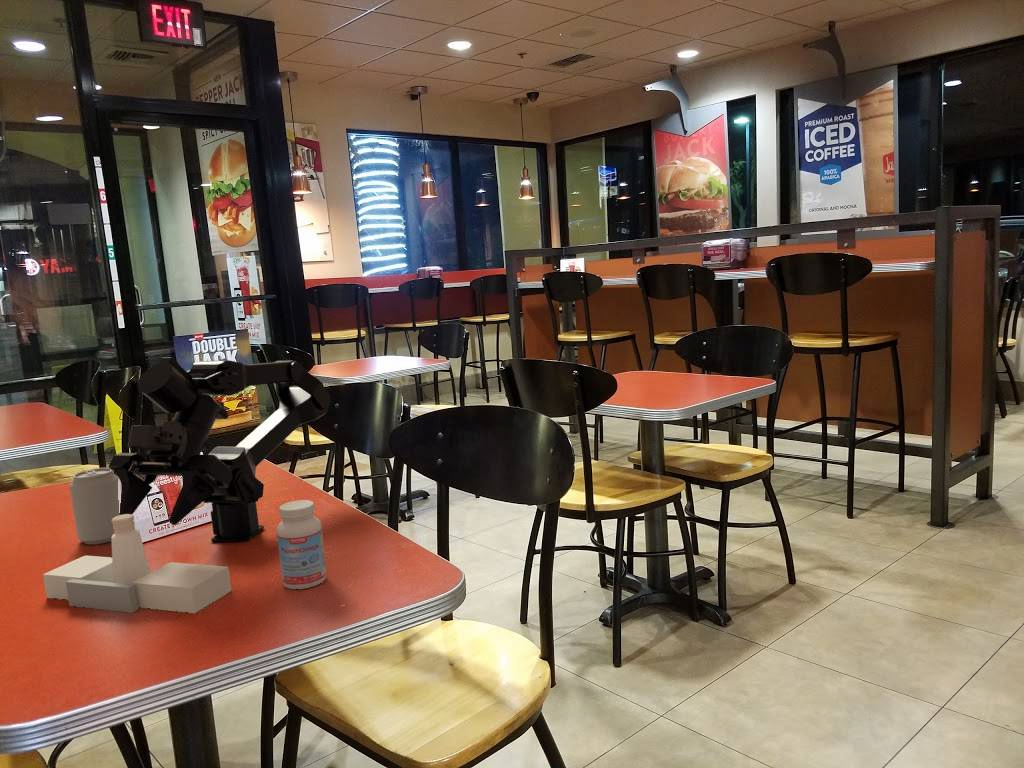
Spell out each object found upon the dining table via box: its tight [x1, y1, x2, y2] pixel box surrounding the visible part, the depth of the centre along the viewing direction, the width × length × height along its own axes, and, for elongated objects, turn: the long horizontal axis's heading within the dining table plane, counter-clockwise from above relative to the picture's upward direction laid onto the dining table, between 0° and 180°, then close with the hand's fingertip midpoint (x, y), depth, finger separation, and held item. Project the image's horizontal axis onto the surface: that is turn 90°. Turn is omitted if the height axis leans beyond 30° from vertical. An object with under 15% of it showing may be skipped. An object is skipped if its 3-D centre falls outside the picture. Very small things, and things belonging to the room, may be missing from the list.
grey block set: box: [42, 555, 232, 614], centre depth 105 cm, size 26×8×4 cm, turn 71°
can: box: [69, 467, 120, 545], centre depth 130 cm, size 8×8×12 cm
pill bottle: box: [276, 499, 327, 590], centre depth 105 cm, size 6×6×11 cm
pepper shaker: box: [111, 514, 151, 584], centre depth 106 cm, size 5×5×11 cm
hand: (146, 522), depth 109 cm, fingers open, 9 cm apart
